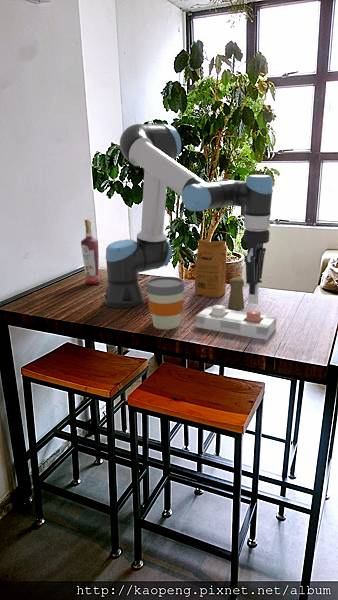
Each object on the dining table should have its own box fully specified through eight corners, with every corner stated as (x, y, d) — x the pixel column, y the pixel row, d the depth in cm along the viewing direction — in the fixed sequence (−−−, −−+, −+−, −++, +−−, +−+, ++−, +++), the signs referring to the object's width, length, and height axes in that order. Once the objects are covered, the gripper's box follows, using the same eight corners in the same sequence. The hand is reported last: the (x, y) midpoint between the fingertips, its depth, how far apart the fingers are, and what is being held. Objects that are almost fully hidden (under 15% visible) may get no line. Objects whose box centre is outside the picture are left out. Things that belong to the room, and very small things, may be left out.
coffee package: (201, 288, 190) (201, 236, 182) (229, 292, 184) (230, 238, 176) (190, 295, 181) (190, 241, 174) (218, 299, 175) (219, 243, 168)
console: (195, 327, 150) (195, 315, 149) (208, 317, 158) (208, 306, 157) (266, 339, 139) (267, 327, 137) (275, 328, 147) (276, 317, 146)
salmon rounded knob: (244, 326, 144) (244, 313, 143) (248, 322, 148) (249, 309, 146) (257, 329, 142) (258, 315, 141) (262, 324, 146) (262, 311, 144)
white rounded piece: (209, 320, 150) (209, 308, 148) (215, 316, 153) (215, 304, 152) (222, 322, 148) (222, 310, 146) (227, 318, 151) (227, 306, 150)
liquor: (104, 282, 202) (100, 219, 192) (94, 286, 196) (88, 221, 187) (92, 280, 205) (86, 218, 196) (81, 284, 199) (75, 220, 190)
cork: (244, 310, 164) (244, 280, 160) (227, 309, 165) (227, 280, 161) (244, 304, 169) (245, 276, 166) (228, 303, 171) (229, 275, 167)
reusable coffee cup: (182, 332, 146) (181, 288, 141) (144, 330, 148) (142, 287, 143) (187, 318, 158) (186, 276, 153) (152, 316, 160) (150, 276, 155)
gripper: (262, 233, 128) (257, 311, 136) (275, 226, 138) (270, 298, 147) (237, 231, 131) (234, 307, 139) (252, 224, 142) (248, 295, 150)
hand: (252, 302), depth 143 cm, fingers closed
